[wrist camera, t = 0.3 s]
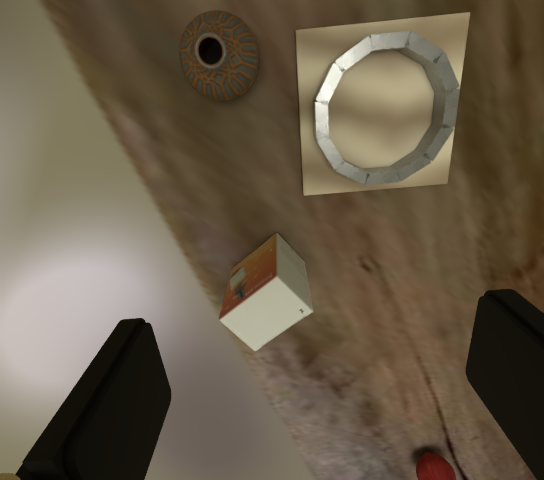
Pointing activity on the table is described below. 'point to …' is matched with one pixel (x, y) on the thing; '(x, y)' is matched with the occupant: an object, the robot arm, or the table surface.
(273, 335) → the small box
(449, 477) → the onion
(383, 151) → the birch board
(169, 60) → the table surface
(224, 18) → the vase
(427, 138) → the ring collar
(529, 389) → the robot arm
